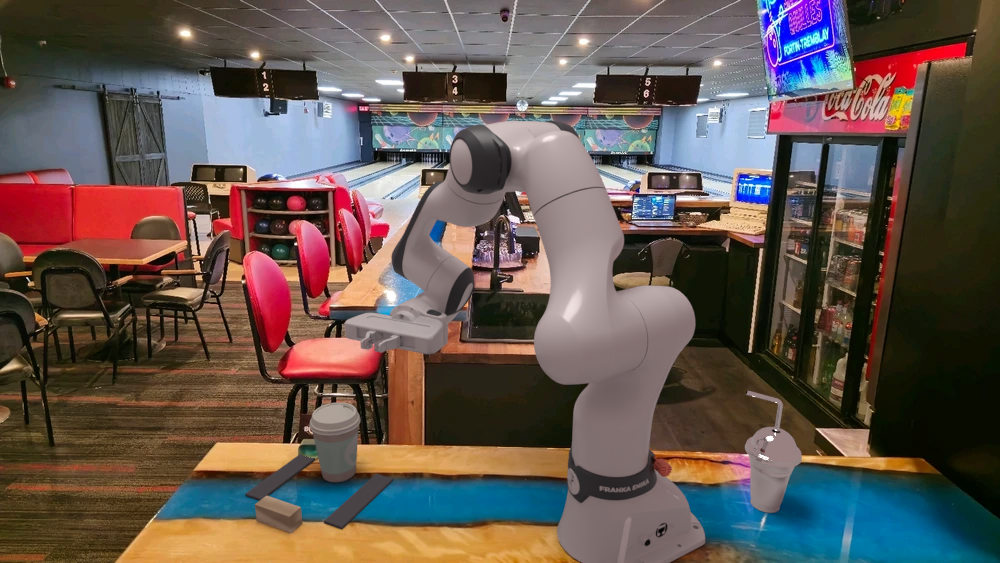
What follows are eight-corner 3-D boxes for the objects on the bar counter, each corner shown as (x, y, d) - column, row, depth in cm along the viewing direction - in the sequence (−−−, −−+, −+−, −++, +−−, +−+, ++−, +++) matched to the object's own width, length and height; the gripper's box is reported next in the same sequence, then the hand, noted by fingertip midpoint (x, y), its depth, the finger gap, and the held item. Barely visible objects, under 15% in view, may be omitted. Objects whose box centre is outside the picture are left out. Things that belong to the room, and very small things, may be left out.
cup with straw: (782, 528, 97) (800, 414, 91) (726, 503, 103) (740, 394, 97) (800, 503, 103) (819, 394, 97) (746, 481, 109) (761, 377, 103)
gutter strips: (303, 453, 116) (302, 451, 116) (392, 480, 108) (392, 478, 108) (245, 495, 104) (245, 493, 104) (342, 529, 96) (341, 527, 96)
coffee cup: (351, 490, 106) (346, 427, 102) (305, 483, 107) (299, 422, 104) (371, 462, 114) (367, 403, 110) (328, 456, 115) (323, 398, 112)
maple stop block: (268, 511, 100) (266, 495, 99) (302, 523, 97) (300, 507, 96) (256, 520, 98) (254, 504, 97) (291, 533, 95) (289, 516, 94)
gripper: (367, 301, 130) (324, 322, 118) (454, 315, 122) (416, 339, 110) (369, 329, 132) (326, 353, 119) (454, 345, 123) (417, 372, 111)
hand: (370, 346), depth 114 cm, fingers closed
